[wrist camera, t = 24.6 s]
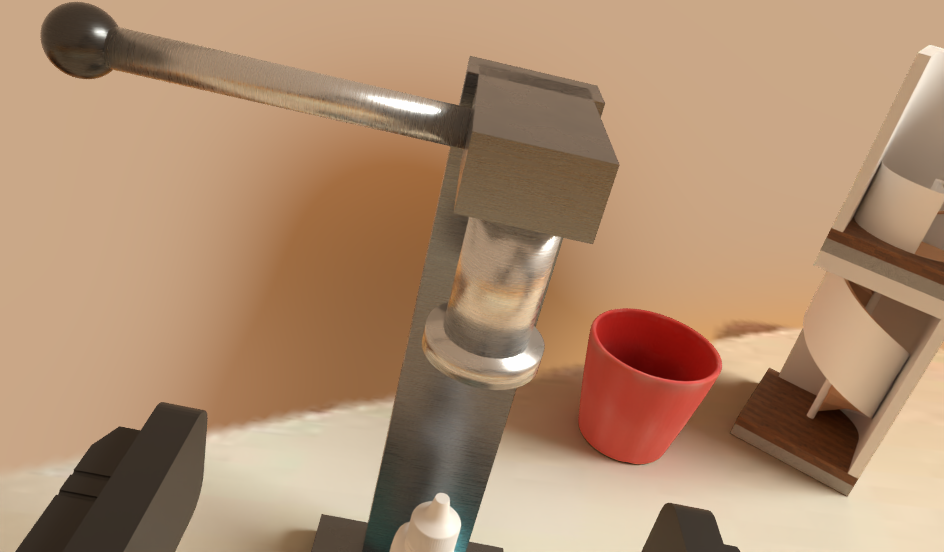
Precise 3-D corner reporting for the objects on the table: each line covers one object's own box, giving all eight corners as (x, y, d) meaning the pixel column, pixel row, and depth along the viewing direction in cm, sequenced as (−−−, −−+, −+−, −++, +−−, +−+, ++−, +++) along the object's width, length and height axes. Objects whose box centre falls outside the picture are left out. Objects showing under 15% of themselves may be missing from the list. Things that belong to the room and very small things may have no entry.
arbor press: (496, 881, 35) (783, 279, 20) (-66, 794, 33) (-216, 59, 18) (497, 563, 51) (657, 97, 36) (119, 493, 49) (121, -29, 34)
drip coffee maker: (761, 383, 79) (930, 44, 62) (866, 436, 74) (1076, 86, 58) (730, 433, 70) (917, 52, 53) (847, 496, 65) (1090, 103, 49)
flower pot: (541, 394, 68) (571, 303, 64) (646, 394, 72) (682, 308, 68) (587, 480, 60) (625, 382, 55) (704, 476, 63) (749, 383, 59)
